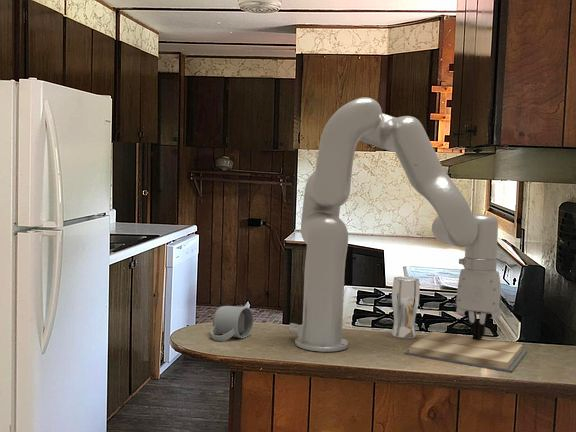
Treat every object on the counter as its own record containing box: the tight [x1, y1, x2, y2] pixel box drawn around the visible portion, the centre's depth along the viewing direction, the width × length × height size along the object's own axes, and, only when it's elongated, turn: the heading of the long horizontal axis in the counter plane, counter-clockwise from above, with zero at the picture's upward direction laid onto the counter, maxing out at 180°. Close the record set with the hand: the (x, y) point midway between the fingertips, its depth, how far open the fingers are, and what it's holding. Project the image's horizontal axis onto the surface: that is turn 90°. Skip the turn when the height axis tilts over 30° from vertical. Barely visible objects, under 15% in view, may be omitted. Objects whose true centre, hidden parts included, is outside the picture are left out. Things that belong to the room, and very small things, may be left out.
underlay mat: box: [404, 349, 528, 374], centre depth 155 cm, size 24×20×1 cm
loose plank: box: [421, 330, 523, 359], centre depth 159 cm, size 22×9×2 cm, turn 61°
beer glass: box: [391, 276, 420, 340], centre depth 170 cm, size 7×7×15 cm
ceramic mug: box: [210, 305, 254, 342], centre depth 162 cm, size 11×8×8 cm
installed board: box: [408, 338, 515, 369], centre depth 151 cm, size 22×9×2 cm, turn 61°
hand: (477, 338), depth 162 cm, fingers closed
